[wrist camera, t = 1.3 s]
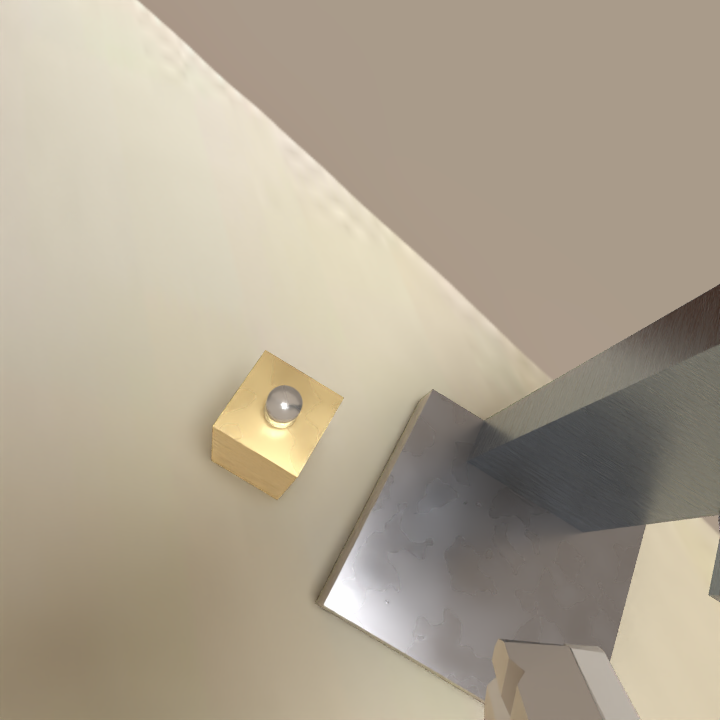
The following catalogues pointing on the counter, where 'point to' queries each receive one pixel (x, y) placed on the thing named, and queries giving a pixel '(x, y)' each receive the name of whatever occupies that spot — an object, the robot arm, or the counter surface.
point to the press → (536, 504)
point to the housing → (272, 425)
